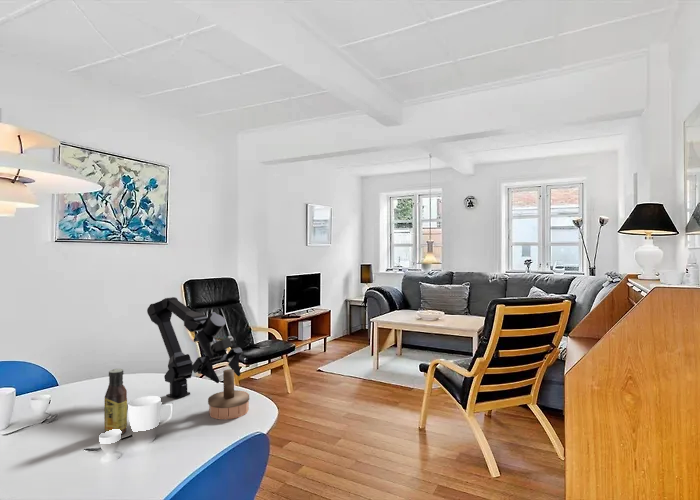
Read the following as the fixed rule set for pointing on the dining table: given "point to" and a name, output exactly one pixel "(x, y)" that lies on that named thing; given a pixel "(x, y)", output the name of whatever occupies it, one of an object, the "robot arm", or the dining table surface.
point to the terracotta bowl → (229, 411)
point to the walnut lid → (228, 393)
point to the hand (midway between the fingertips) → (229, 378)
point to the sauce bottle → (115, 402)
